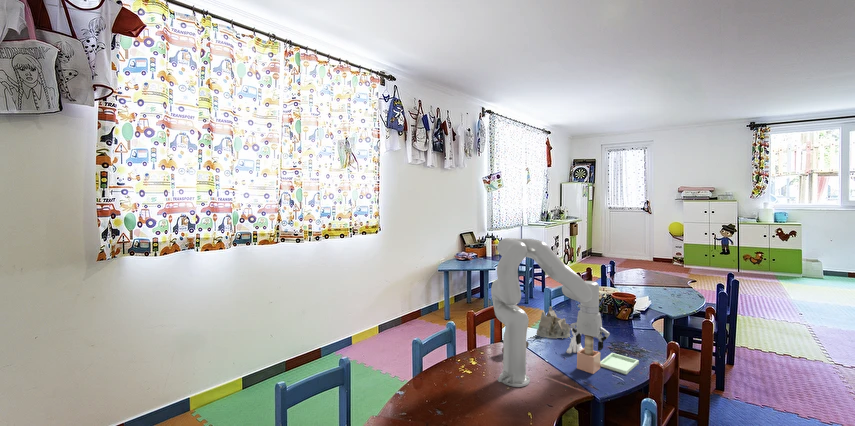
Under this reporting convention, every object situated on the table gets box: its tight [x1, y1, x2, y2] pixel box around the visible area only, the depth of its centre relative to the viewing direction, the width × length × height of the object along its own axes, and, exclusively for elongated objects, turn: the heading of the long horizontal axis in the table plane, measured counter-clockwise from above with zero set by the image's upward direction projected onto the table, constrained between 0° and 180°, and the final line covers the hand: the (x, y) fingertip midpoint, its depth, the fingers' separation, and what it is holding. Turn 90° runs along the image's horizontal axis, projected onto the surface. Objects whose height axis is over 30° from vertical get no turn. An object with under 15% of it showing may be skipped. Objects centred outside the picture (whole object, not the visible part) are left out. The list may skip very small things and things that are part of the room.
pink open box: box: [576, 347, 601, 375], centre depth 172 cm, size 7×7×8 cm
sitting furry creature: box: [565, 328, 584, 354], centre depth 191 cm, size 10×9×12 cm
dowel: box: [584, 335, 594, 356], centre depth 172 cm, size 4×4×15 cm
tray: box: [600, 352, 640, 376], centre depth 176 cm, size 16×12×2 cm
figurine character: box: [499, 339, 529, 353], centre depth 191 cm, size 7×8×15 cm
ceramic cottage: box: [536, 306, 572, 340], centre depth 214 cm, size 16×16×15 cm
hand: (589, 346), depth 172 cm, fingers open, 9 cm apart
